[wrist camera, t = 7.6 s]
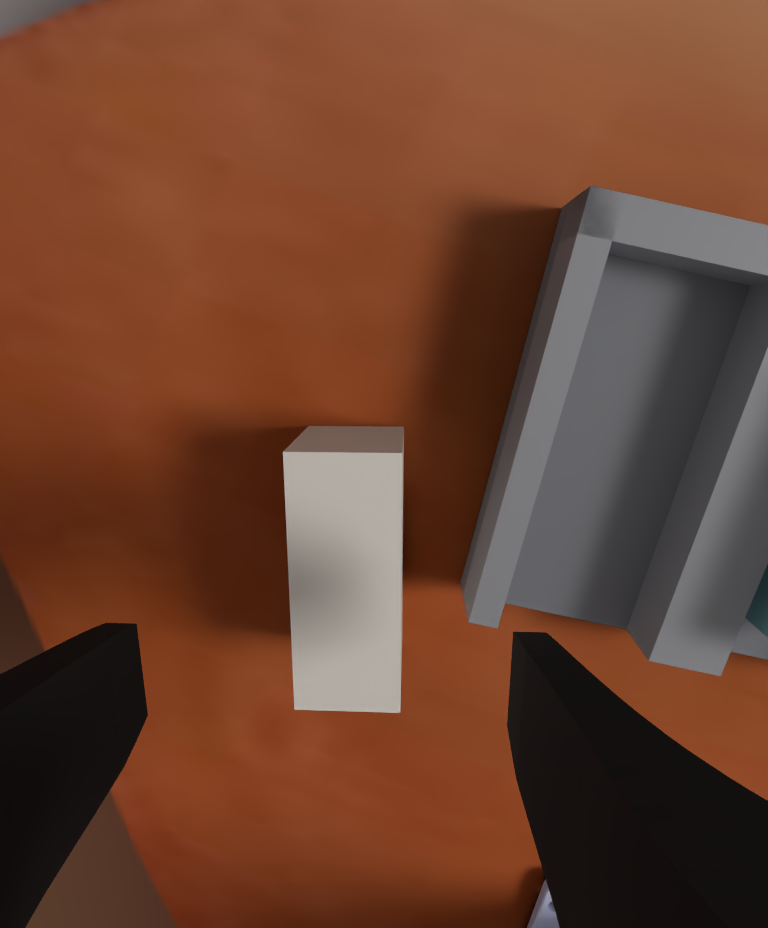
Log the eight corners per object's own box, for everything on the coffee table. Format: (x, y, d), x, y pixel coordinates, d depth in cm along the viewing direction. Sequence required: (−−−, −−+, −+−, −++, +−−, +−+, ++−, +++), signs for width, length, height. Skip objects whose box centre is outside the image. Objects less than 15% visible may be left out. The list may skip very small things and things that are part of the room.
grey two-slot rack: (833, 662, 17) (898, 714, 15) (460, 582, 17) (468, 622, 15) (1002, 306, 15) (1114, 302, 12) (561, 207, 15) (591, 185, 12)
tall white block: (402, 638, 18) (400, 713, 15) (316, 635, 18) (294, 709, 15) (404, 425, 16) (402, 452, 13) (309, 424, 17) (282, 452, 13)
